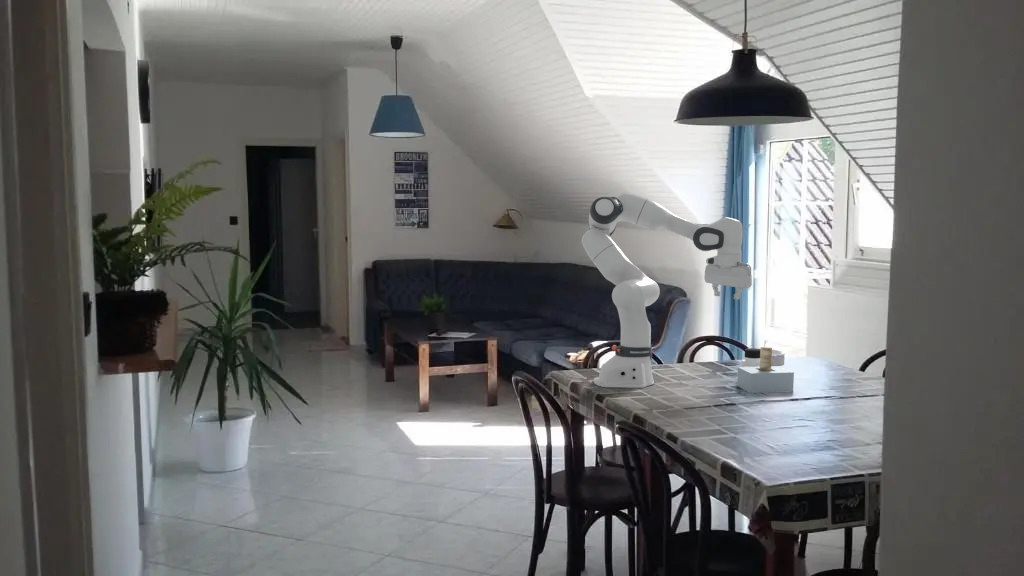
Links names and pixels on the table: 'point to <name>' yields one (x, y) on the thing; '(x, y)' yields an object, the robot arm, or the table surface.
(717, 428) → the table surface
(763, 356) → the peg
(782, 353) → the paper bowls
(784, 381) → the socket block
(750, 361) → the medicine bottle
